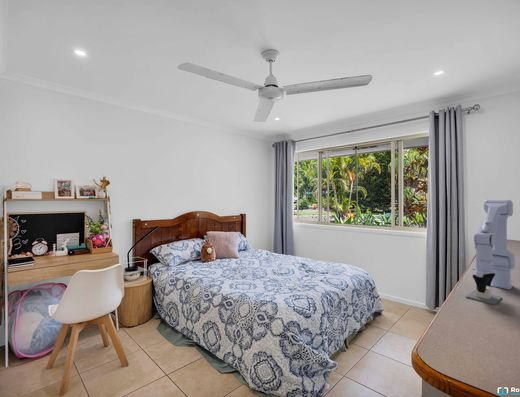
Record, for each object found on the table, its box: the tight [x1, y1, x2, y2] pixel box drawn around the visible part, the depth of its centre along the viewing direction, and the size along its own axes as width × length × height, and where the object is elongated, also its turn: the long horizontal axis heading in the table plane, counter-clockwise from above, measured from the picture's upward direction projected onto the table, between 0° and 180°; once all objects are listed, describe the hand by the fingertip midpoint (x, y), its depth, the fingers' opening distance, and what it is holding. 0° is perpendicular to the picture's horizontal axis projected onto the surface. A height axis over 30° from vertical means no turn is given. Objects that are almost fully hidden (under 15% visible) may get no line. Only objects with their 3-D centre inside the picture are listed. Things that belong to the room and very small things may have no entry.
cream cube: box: [475, 285, 493, 299], centre depth 120 cm, size 4×4×4 cm
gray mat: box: [465, 290, 503, 306], centre depth 120 cm, size 12×10×1 cm
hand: (483, 290), depth 120 cm, fingers open, 7 cm apart
